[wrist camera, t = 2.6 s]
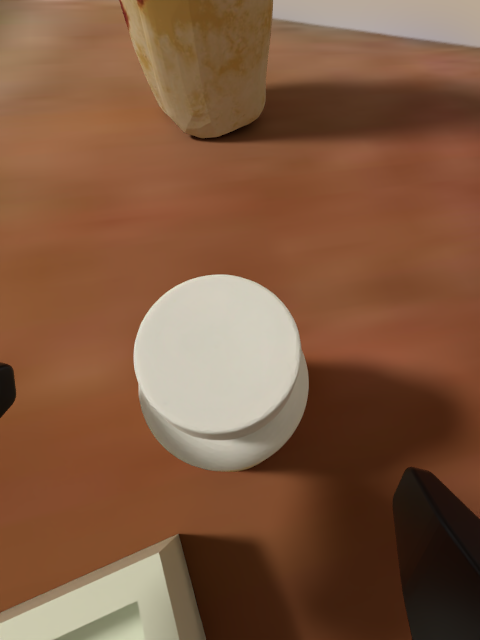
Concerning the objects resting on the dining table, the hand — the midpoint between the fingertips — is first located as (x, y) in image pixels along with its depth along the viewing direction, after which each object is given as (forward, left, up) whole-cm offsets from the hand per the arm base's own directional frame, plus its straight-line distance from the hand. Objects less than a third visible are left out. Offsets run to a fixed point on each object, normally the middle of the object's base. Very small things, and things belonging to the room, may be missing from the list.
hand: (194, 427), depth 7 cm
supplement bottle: (+2, -1, -9) cm, 10 cm away
